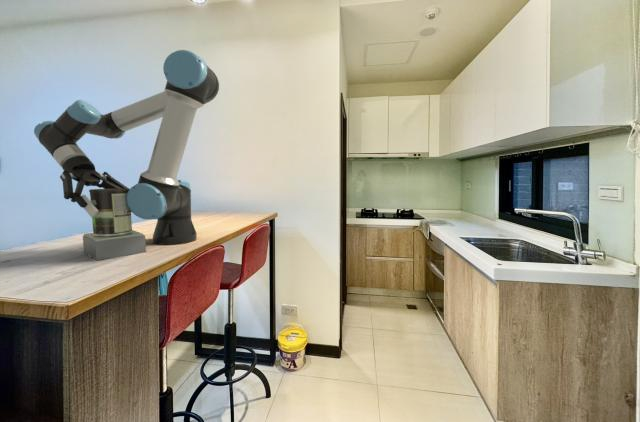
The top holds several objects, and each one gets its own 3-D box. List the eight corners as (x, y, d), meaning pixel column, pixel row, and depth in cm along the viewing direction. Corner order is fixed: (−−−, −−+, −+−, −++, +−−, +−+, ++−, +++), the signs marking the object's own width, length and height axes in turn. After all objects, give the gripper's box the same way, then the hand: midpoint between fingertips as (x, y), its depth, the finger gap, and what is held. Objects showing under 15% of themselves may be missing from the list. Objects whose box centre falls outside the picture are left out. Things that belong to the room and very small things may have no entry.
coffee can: (93, 238, 84) (89, 190, 82) (92, 233, 92) (88, 189, 90) (134, 234, 90) (131, 189, 89) (131, 229, 98) (128, 188, 97)
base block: (130, 245, 101) (129, 228, 100) (145, 252, 93) (144, 233, 92) (83, 252, 91) (82, 233, 90) (96, 260, 83) (95, 240, 82)
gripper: (106, 172, 105) (142, 214, 103) (21, 169, 80) (67, 225, 79) (117, 157, 103) (154, 200, 101) (34, 150, 79) (81, 207, 77)
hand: (116, 211), depth 90 cm, fingers open, 13 cm apart
